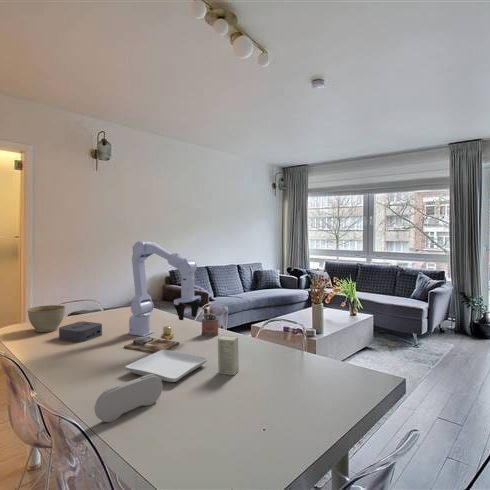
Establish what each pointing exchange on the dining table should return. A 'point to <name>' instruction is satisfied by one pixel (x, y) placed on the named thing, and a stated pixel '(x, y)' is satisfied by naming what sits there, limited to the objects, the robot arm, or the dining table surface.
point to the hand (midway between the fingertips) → (187, 318)
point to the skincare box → (228, 355)
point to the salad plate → (167, 365)
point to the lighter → (209, 325)
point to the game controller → (128, 397)
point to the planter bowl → (46, 317)
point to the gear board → (151, 344)
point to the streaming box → (80, 331)
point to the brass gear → (167, 333)
